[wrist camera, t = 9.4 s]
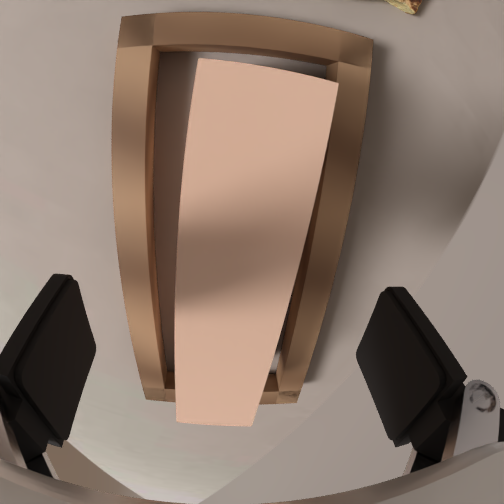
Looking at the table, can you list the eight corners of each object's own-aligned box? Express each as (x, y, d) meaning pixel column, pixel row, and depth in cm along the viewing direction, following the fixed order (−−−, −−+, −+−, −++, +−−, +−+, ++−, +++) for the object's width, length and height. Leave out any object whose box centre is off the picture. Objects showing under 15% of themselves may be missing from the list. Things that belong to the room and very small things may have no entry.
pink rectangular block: (209, 77, 12) (198, 58, 7) (296, 91, 12) (338, 83, 7) (184, 351, 19) (176, 421, 14) (244, 356, 19) (251, 426, 14)
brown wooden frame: (132, 25, 10) (121, 16, 9) (358, 45, 11) (373, 39, 10) (149, 382, 20) (145, 399, 18) (292, 386, 21) (296, 402, 19)
